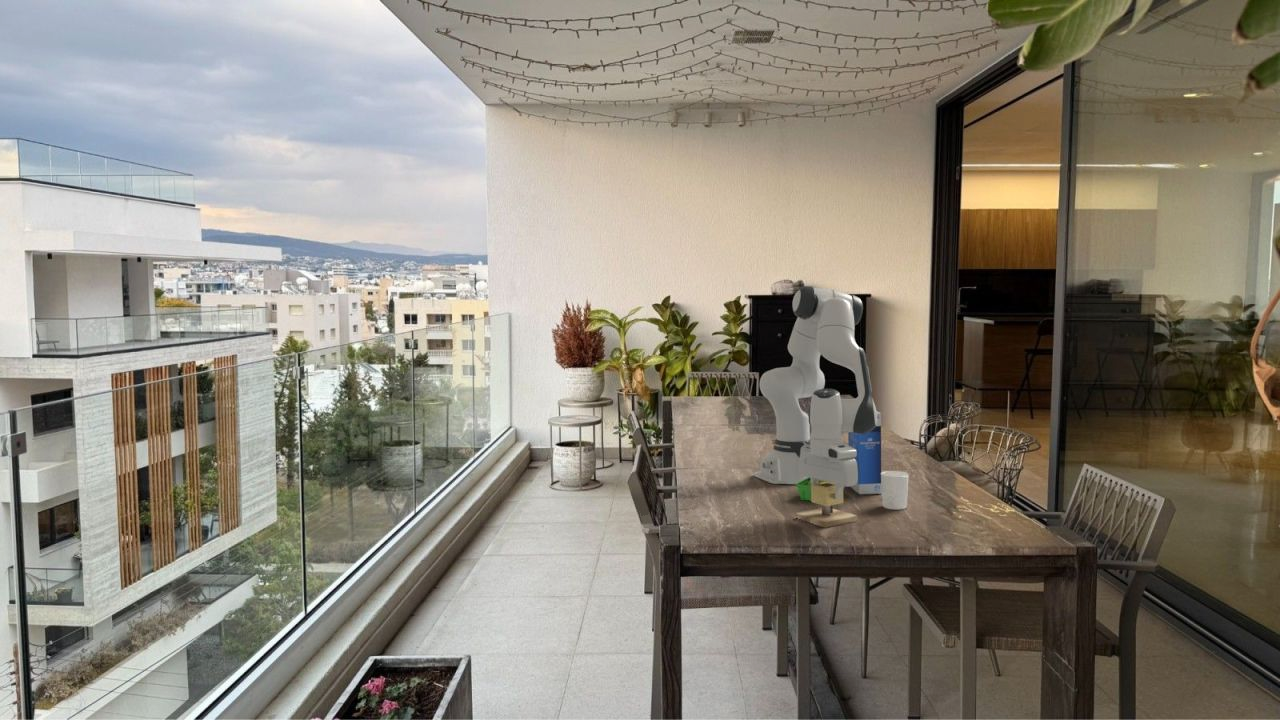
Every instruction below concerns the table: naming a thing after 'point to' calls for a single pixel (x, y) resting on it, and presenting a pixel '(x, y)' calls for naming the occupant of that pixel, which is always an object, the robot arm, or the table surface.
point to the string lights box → (868, 459)
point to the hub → (824, 494)
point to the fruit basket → (805, 489)
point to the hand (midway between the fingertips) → (827, 496)
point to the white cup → (894, 489)
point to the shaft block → (826, 516)
